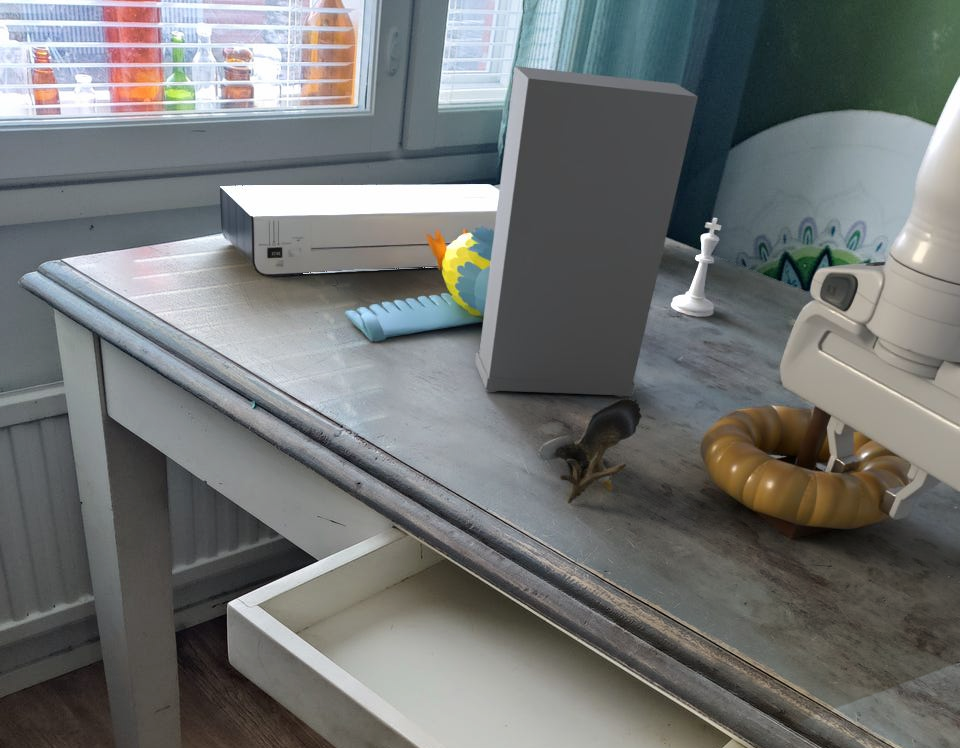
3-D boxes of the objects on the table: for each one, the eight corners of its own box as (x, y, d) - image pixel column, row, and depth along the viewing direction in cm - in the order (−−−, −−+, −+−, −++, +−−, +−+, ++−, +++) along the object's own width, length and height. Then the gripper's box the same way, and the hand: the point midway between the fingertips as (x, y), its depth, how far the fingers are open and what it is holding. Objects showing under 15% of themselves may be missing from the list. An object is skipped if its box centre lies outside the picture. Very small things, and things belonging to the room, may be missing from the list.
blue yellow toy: (560, 204, 109) (647, 251, 100) (547, 282, 114) (628, 334, 105) (329, 215, 95) (406, 272, 86) (326, 304, 101) (398, 365, 91)
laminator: (483, 234, 126) (489, 183, 123) (531, 267, 118) (539, 213, 115) (221, 243, 112) (219, 185, 108) (256, 281, 104) (255, 220, 100)
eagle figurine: (646, 507, 73) (659, 437, 79) (609, 431, 69) (625, 362, 75) (554, 531, 77) (573, 462, 83) (514, 460, 73) (536, 392, 79)
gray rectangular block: (613, 371, 96) (674, 81, 81) (631, 398, 91) (700, 97, 76) (474, 365, 93) (510, 63, 78) (485, 393, 88) (526, 78, 73)
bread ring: (797, 432, 87) (810, 389, 85) (945, 516, 77) (964, 469, 74) (657, 458, 80) (667, 411, 78) (798, 554, 69) (815, 504, 67)
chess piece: (709, 320, 111) (734, 228, 105) (667, 310, 112) (689, 218, 106) (716, 307, 115) (740, 218, 109) (675, 297, 116) (697, 208, 110)
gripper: (1112, 371, 59) (1009, 562, 68) (859, 258, 72) (799, 430, 81) (1049, 382, 56) (950, 580, 65) (798, 263, 70) (742, 440, 78)
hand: (864, 495), depth 73 cm, fingers closed on bread ring, 4 cm apart
